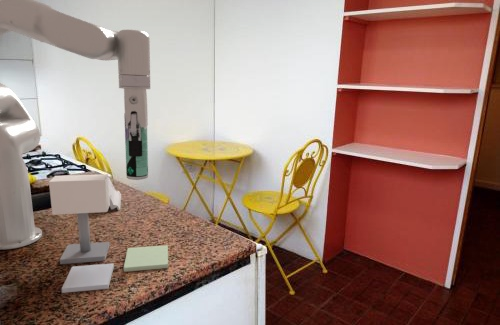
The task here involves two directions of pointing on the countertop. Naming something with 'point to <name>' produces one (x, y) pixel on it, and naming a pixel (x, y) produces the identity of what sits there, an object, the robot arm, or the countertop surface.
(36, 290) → the countertop surface
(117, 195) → the white bevelled plastic case
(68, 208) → the mounted unit
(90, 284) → the grey square tile
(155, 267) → the green tile
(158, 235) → the countertop surface
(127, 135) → the spray can
